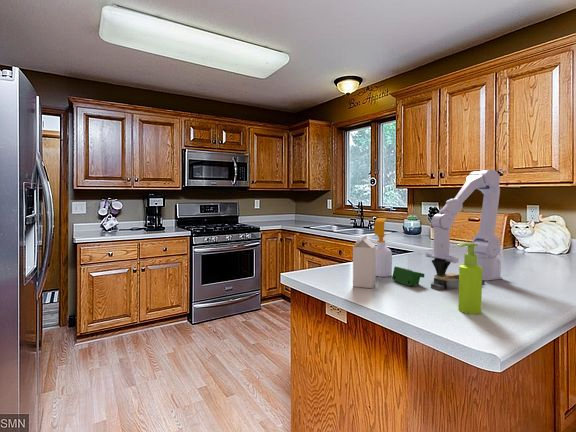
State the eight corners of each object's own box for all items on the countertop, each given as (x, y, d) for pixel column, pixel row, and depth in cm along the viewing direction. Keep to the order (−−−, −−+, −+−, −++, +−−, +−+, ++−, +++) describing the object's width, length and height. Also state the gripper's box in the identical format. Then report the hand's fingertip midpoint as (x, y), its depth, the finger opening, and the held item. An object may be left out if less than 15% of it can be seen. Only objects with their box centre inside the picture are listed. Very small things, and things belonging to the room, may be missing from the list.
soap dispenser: (451, 307, 101) (452, 242, 100) (472, 307, 102) (474, 241, 101) (462, 314, 95) (464, 244, 94) (485, 313, 96) (487, 244, 95)
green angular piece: (417, 296, 128) (429, 277, 125) (405, 294, 126) (416, 274, 123) (401, 278, 138) (411, 259, 135) (389, 275, 136) (399, 257, 133)
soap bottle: (394, 273, 147) (394, 217, 145) (388, 278, 139) (388, 219, 138) (374, 271, 151) (374, 217, 150) (367, 275, 144) (367, 218, 142)
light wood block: (451, 280, 134) (451, 272, 134) (459, 282, 131) (459, 274, 131) (434, 283, 131) (434, 275, 131) (441, 285, 128) (441, 276, 128)
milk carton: (375, 284, 129) (375, 235, 128) (371, 288, 123) (372, 237, 122) (357, 282, 132) (357, 234, 131) (352, 286, 126) (352, 236, 125)
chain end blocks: (471, 280, 134) (471, 273, 134) (485, 284, 128) (485, 276, 128) (427, 286, 125) (427, 278, 125) (440, 290, 120) (440, 282, 120)
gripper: (420, 242, 138) (419, 274, 139) (448, 247, 125) (448, 283, 126) (433, 241, 141) (432, 273, 142) (462, 245, 128) (462, 281, 128)
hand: (440, 277), depth 134 cm, fingers closed
